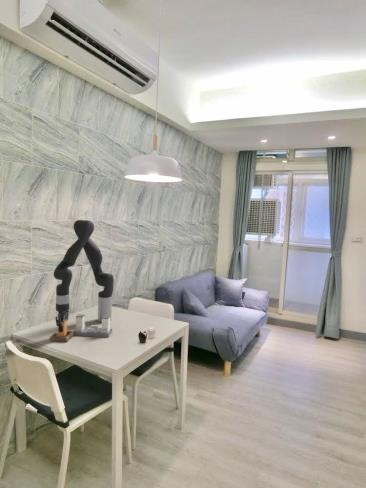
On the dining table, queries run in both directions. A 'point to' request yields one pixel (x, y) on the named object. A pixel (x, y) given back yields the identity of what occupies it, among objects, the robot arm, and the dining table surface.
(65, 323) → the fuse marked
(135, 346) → the dining table surface
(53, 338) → the tray
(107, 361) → the dining table surface
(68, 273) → the robot arm
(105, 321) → the fuse block
